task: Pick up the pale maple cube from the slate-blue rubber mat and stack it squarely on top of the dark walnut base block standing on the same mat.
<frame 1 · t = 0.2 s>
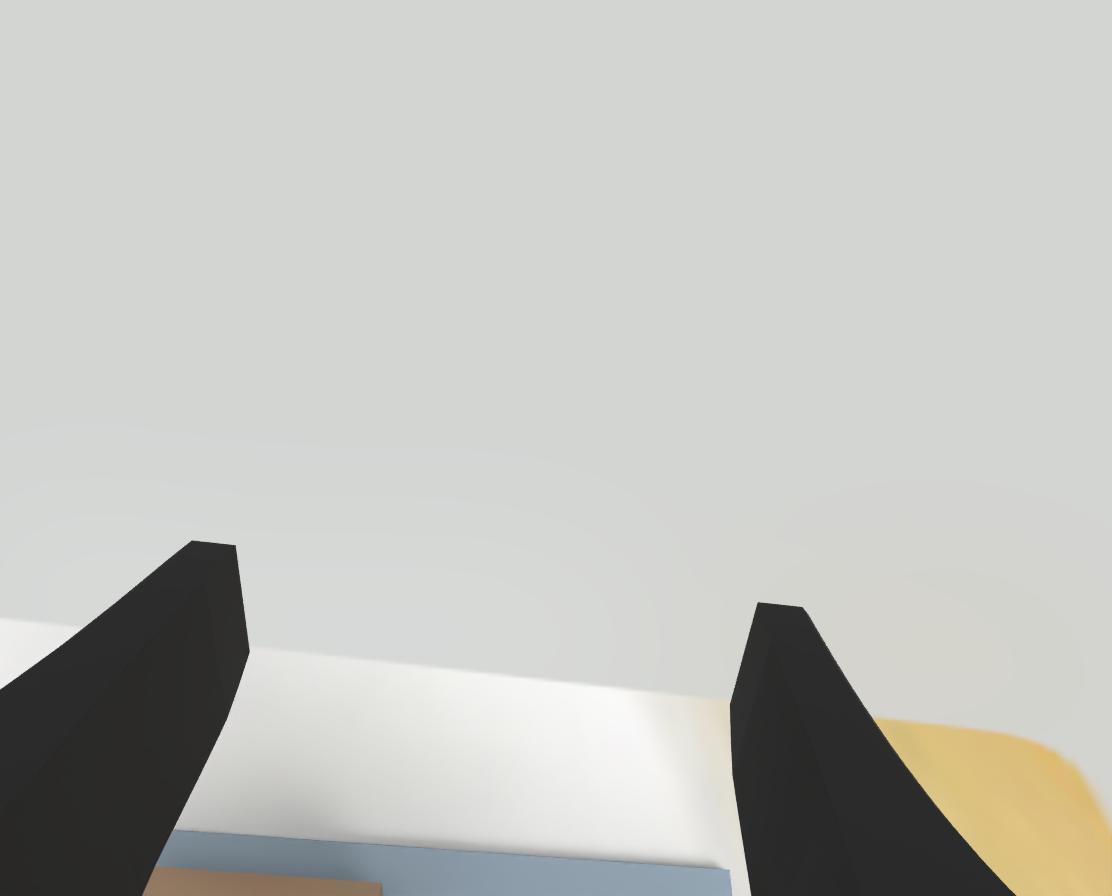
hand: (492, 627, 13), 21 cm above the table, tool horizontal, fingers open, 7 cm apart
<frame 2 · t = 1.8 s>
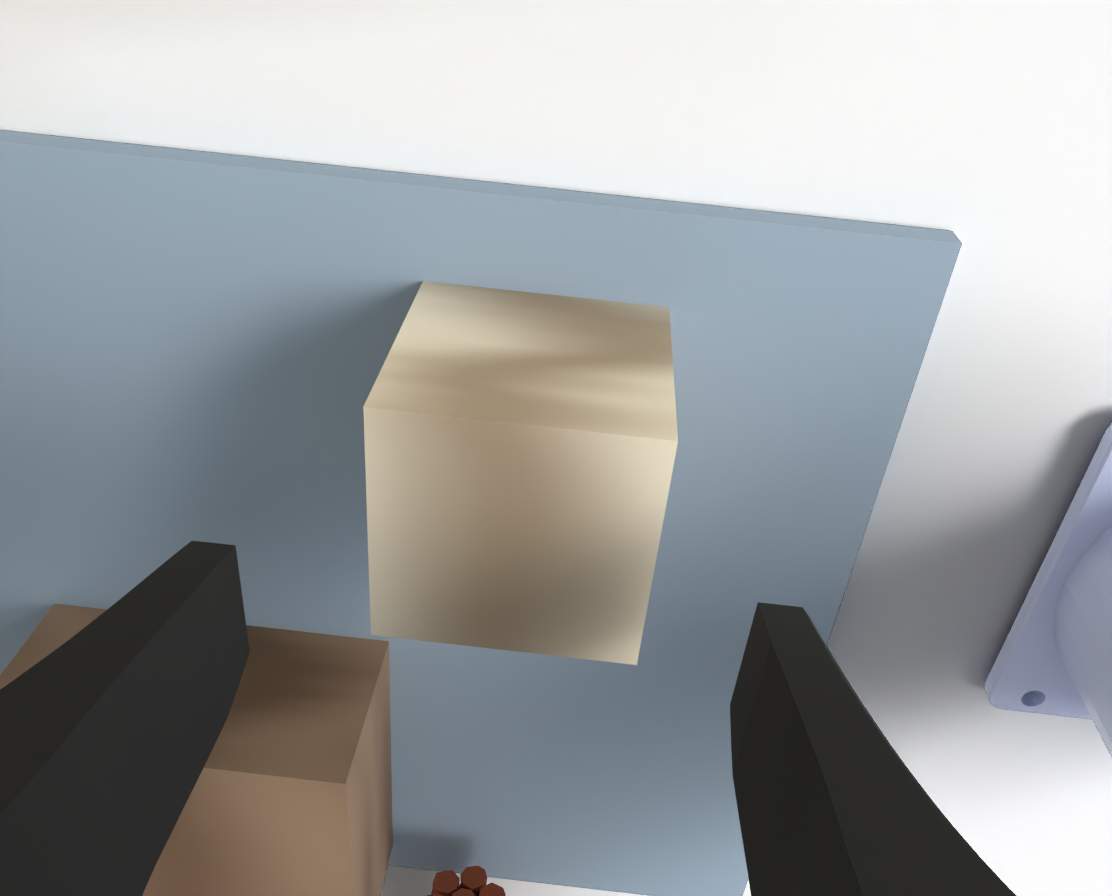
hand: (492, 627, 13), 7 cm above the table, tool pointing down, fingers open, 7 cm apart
maple cube: (536, 400, 18), point 1 cm above the table, touching mat
walnut base: (238, 734, 25), point 1 cm above the table, touching mat
mat: (351, 587, 22), on the table
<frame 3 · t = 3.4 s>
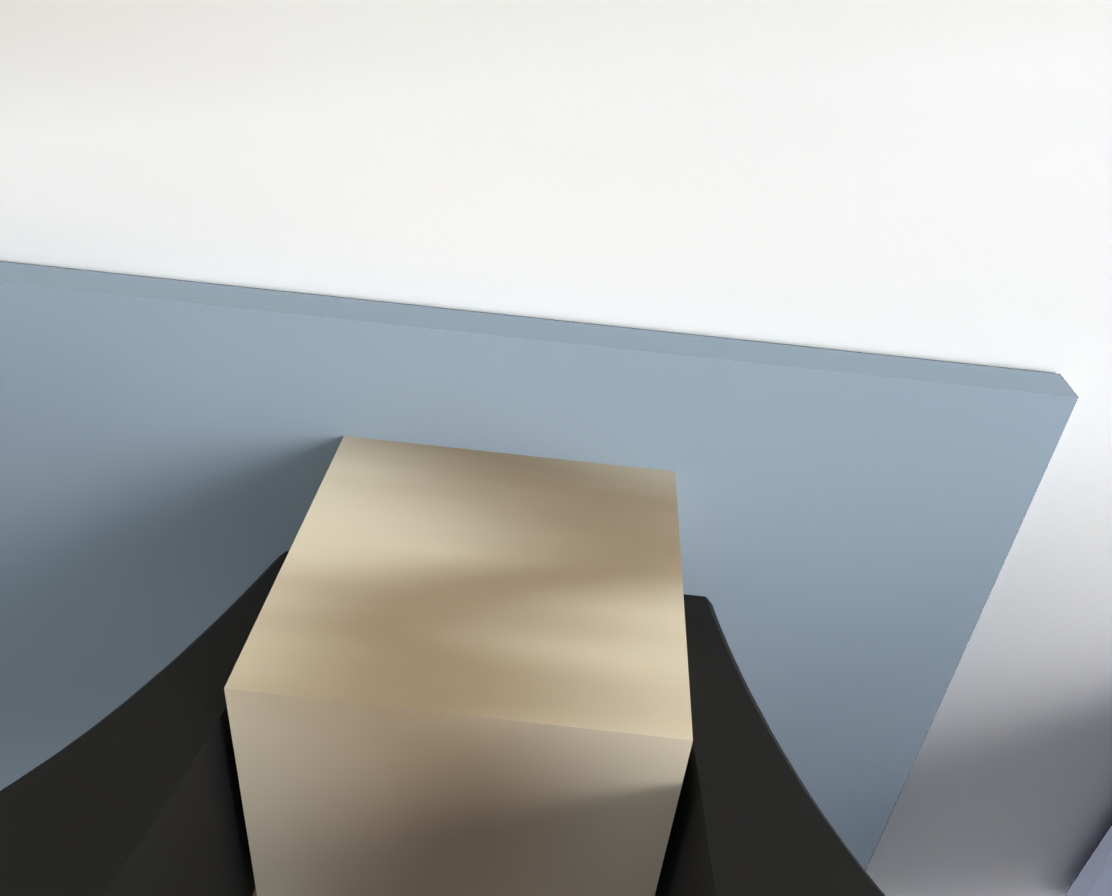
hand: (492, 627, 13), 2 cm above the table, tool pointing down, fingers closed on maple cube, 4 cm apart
maple cube: (500, 579, 14), point 1 cm above the table, touching gripper, mat
mat: (277, 775, 18), on the table
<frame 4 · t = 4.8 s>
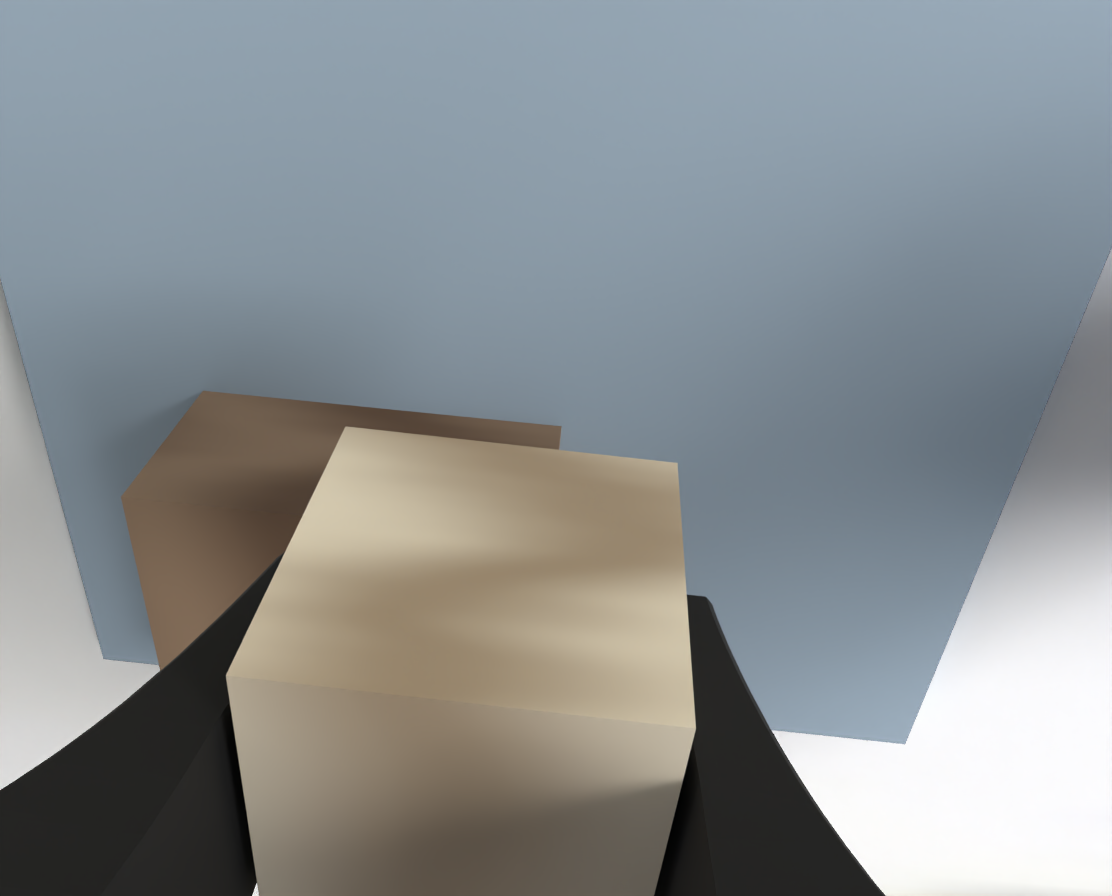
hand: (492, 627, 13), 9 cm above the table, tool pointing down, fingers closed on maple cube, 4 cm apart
maple cube: (502, 571, 14), point 8 cm above the table, touching gripper
walnut base: (386, 548, 23), point 1 cm above the table, touching mat
mat: (521, 369, 21), on the table
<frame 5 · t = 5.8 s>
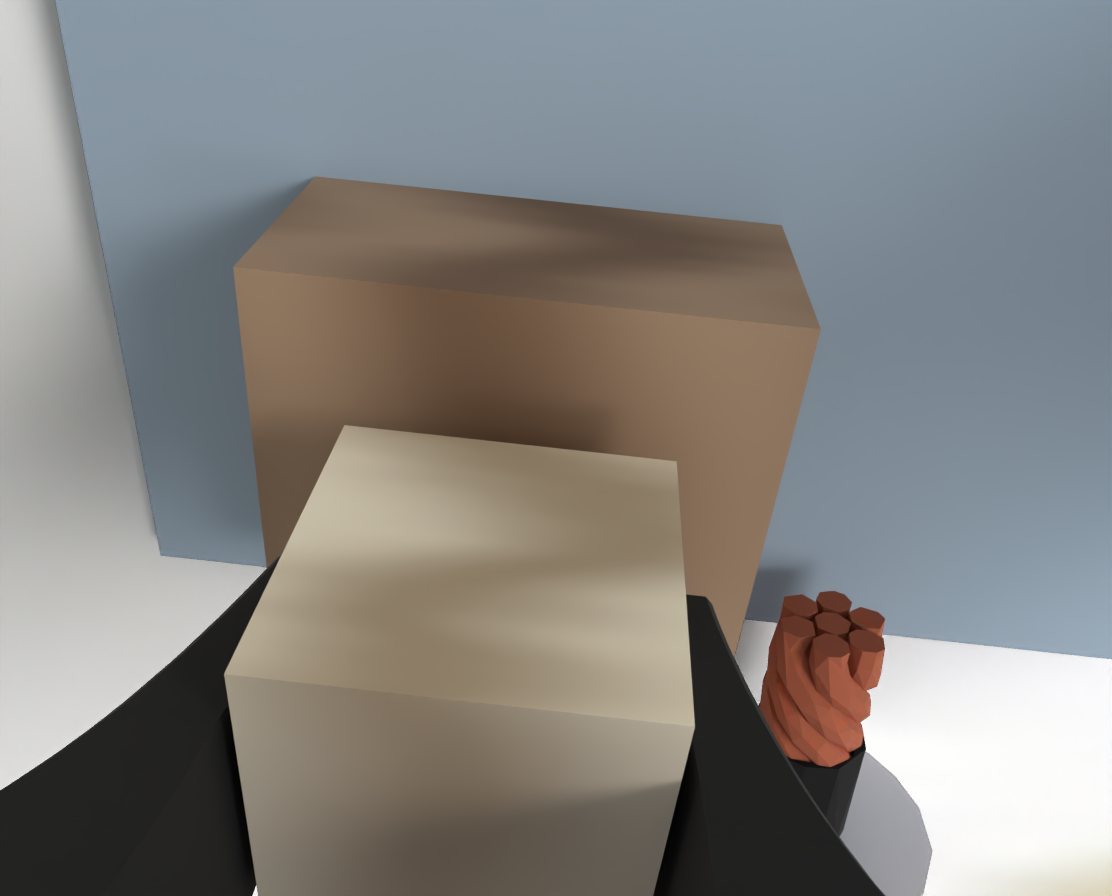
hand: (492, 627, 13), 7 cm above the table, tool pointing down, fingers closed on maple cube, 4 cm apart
maple cube: (501, 570, 14), point 6 cm above the table, touching gripper
walnut base: (531, 401, 18), point 1 cm above the table, touching mat
mat: (731, 150, 16), on the table
when the fingers open (7 cm above the table, at t = 6.5 s): maple cube drops 1 cm, resting on walnut base.
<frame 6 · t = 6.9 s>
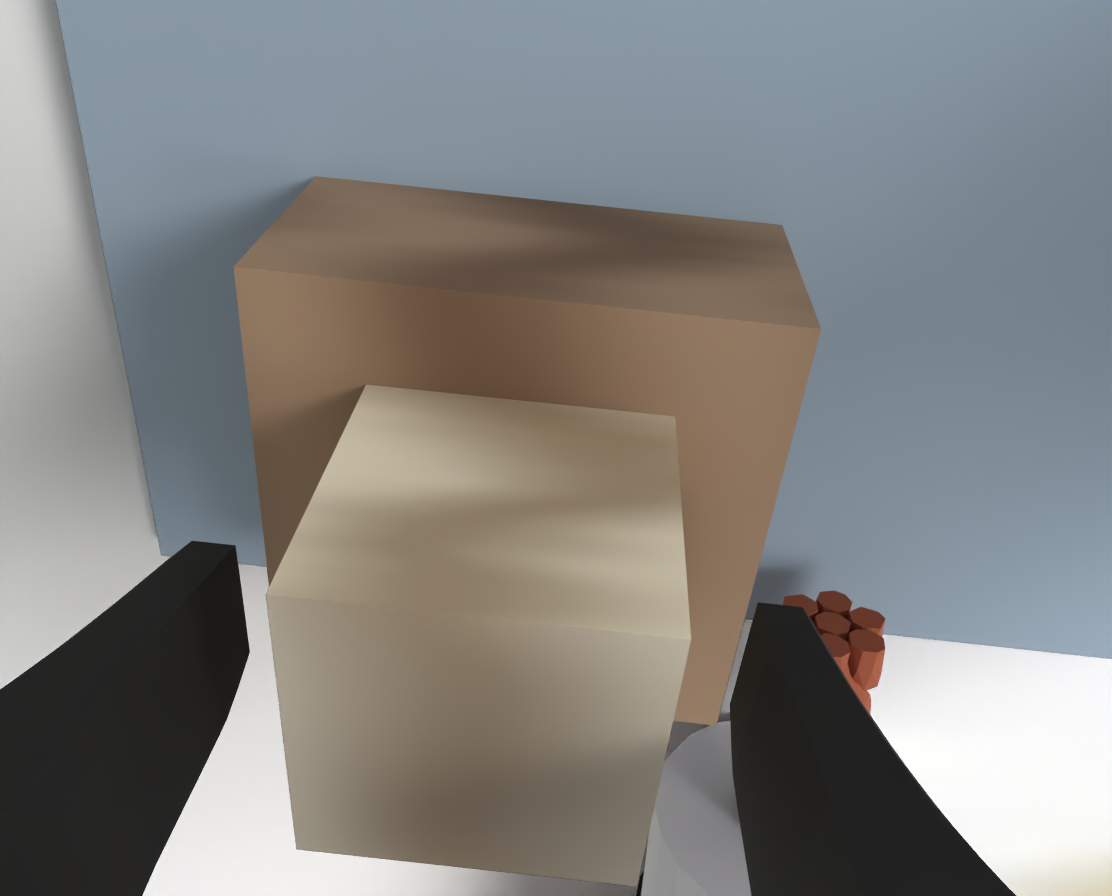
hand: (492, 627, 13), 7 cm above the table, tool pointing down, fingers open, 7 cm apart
maple cube: (511, 522, 15), point 5 cm above the table, touching walnut base
walnut base: (532, 401, 18), point 1 cm above the table, touching maple cube, mat
mat: (731, 149, 16), on the table
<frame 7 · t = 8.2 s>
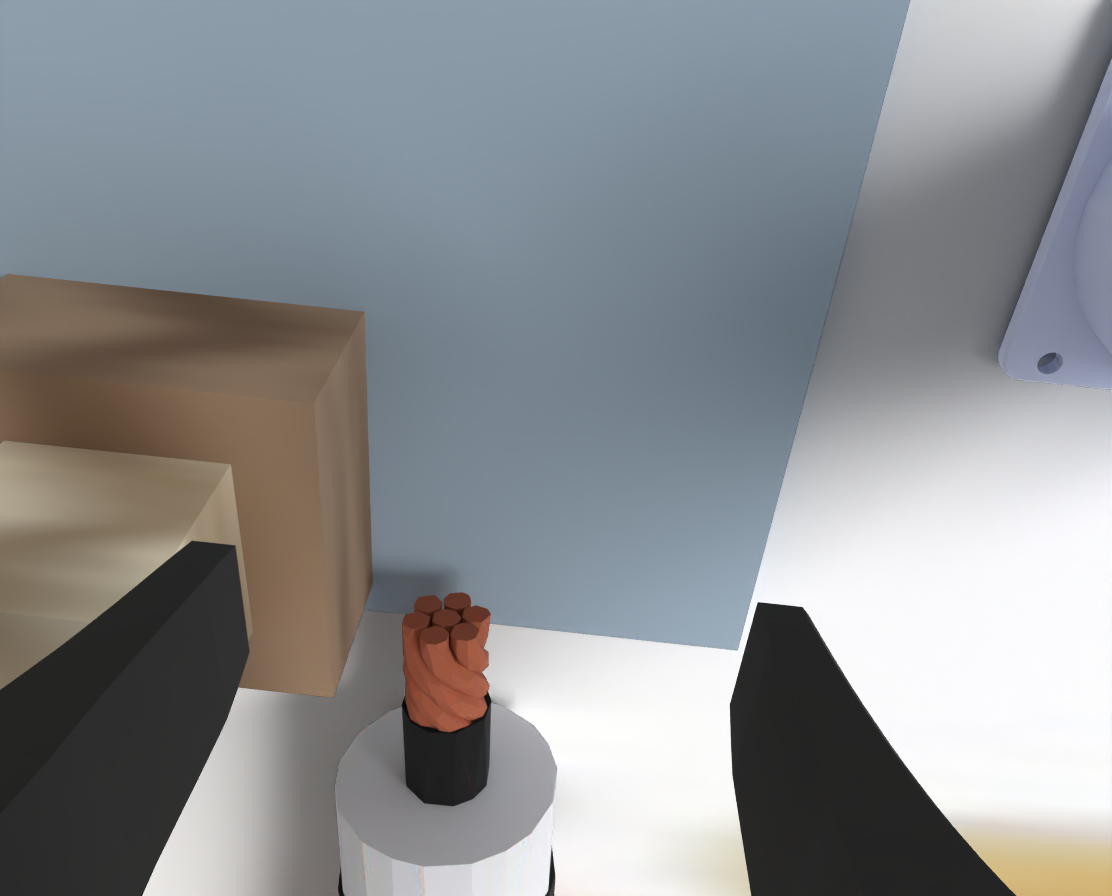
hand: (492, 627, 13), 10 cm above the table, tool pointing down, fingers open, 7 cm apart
maple cube: (136, 541, 20), point 5 cm above the table, touching walnut base
walnut base: (207, 442, 23), point 1 cm above the table, touching maple cube, mat
mat: (324, 254, 21), on the table
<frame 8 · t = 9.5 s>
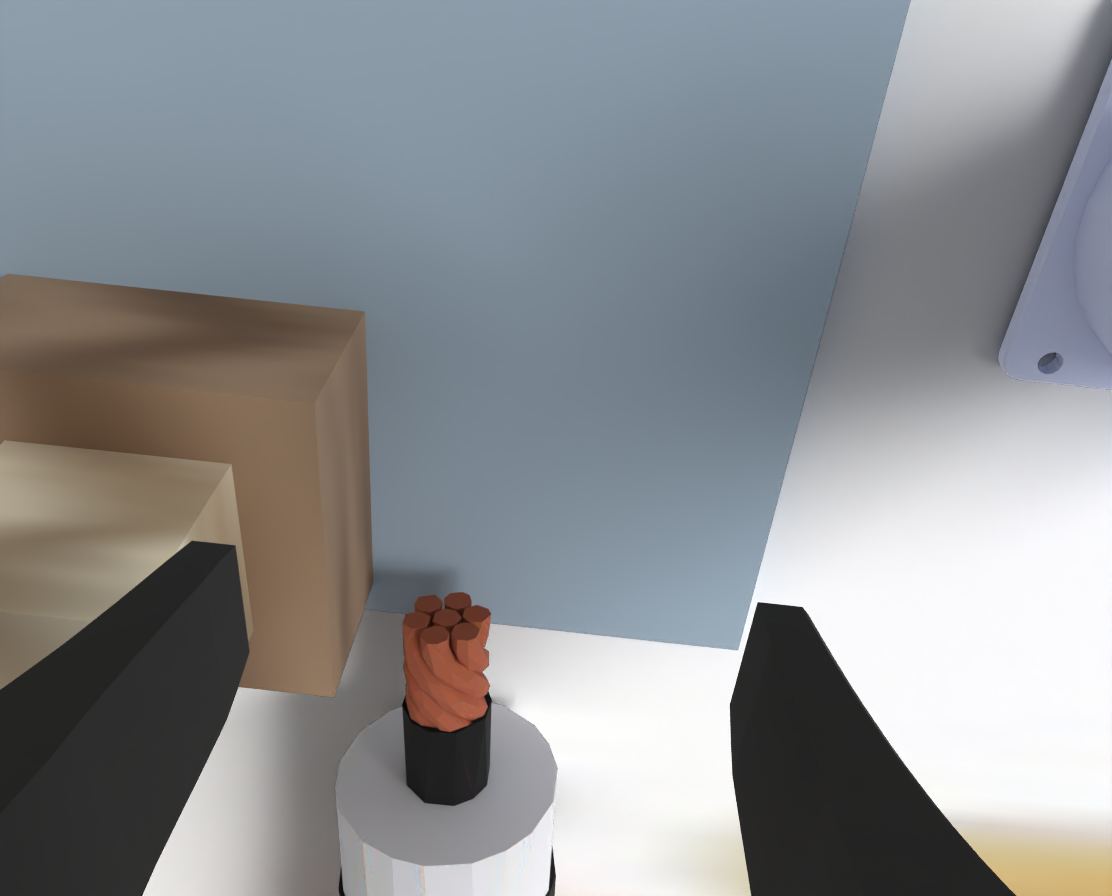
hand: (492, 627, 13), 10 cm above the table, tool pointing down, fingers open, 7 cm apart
maple cube: (136, 541, 20), point 5 cm above the table, touching walnut base
walnut base: (207, 442, 23), point 1 cm above the table, touching maple cube, mat
mat: (325, 254, 21), on the table
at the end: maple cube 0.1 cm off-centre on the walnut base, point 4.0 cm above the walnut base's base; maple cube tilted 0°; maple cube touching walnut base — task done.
